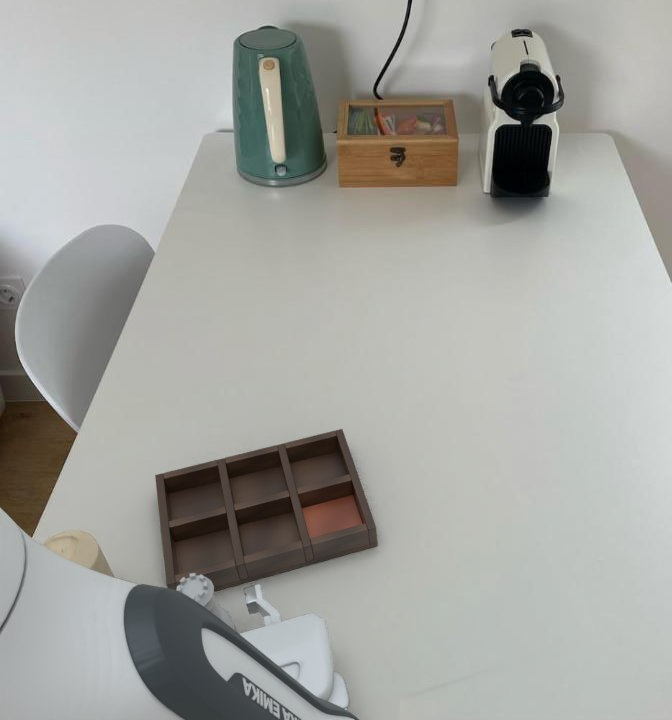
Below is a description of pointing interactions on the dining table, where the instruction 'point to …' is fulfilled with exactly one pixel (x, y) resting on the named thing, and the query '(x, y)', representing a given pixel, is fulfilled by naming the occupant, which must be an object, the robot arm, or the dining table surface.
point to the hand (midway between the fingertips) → (198, 604)
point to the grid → (263, 512)
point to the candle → (79, 550)
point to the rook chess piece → (204, 595)
